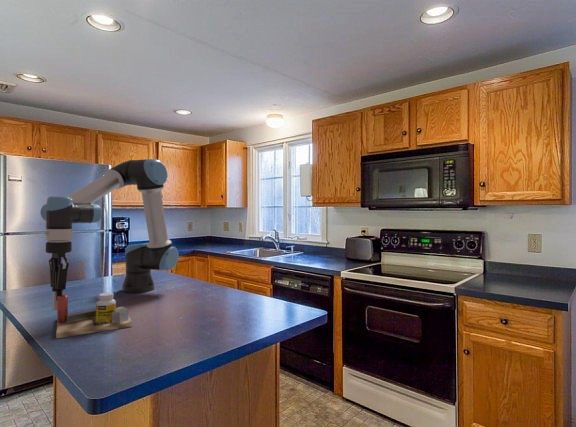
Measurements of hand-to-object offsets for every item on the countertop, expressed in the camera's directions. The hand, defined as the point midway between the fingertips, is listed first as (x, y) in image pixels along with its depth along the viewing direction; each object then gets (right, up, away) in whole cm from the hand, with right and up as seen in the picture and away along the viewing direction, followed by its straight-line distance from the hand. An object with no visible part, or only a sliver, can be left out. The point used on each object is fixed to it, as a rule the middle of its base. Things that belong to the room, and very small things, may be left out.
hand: (57, 309), depth 122 cm
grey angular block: (+21, -6, +1) cm, 22 cm away
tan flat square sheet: (+10, -6, +4) cm, 13 cm away
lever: (+8, -4, +3) cm, 9 cm away
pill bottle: (+16, -6, +2) cm, 17 cm away
